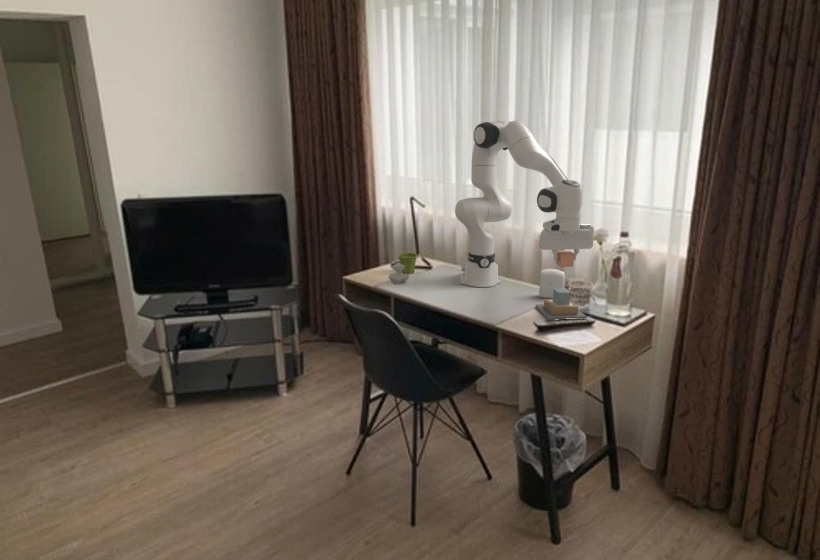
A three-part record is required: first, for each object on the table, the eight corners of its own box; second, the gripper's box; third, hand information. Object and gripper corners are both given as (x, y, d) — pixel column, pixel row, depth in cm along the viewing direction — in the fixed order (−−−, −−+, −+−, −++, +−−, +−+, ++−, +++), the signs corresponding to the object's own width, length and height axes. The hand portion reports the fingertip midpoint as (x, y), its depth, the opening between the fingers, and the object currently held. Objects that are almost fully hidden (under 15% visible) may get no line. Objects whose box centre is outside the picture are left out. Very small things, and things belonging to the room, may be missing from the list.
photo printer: (537, 297, 252) (539, 269, 249) (539, 294, 256) (542, 266, 252) (562, 300, 248) (564, 272, 245) (564, 297, 252) (566, 269, 248)
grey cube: (552, 300, 235) (553, 288, 233) (564, 300, 235) (565, 288, 234) (557, 305, 230) (558, 292, 228) (569, 304, 230) (570, 292, 229)
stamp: (410, 283, 270) (411, 265, 268) (401, 286, 266) (401, 268, 263) (396, 279, 276) (396, 261, 274) (386, 282, 271) (386, 264, 269)
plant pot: (407, 276, 280) (407, 258, 278) (393, 272, 287) (393, 254, 284) (421, 272, 286) (421, 255, 284) (408, 268, 293) (408, 251, 290)
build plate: (535, 307, 240) (536, 297, 239) (571, 306, 242) (572, 296, 240) (548, 320, 226) (548, 309, 225) (586, 319, 227) (587, 308, 226)
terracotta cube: (555, 263, 230) (556, 251, 229) (568, 263, 231) (569, 250, 229) (560, 267, 225) (561, 254, 224) (573, 266, 226) (574, 253, 224)
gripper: (590, 222, 228) (587, 257, 232) (538, 223, 225) (536, 258, 229) (597, 225, 222) (594, 261, 226) (544, 226, 219) (541, 263, 223)
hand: (564, 260), depth 227 cm, fingers closed on terracotta cube, 5 cm apart
